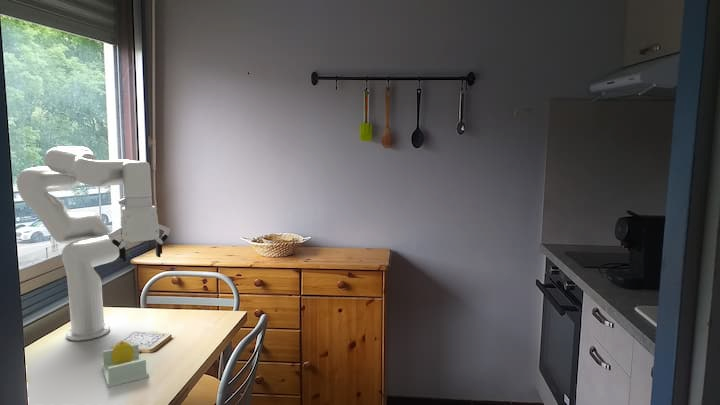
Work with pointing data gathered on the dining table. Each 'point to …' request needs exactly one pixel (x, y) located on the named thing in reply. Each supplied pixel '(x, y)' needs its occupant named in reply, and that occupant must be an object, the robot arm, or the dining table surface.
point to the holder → (123, 368)
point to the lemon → (122, 353)
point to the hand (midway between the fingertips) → (141, 258)
